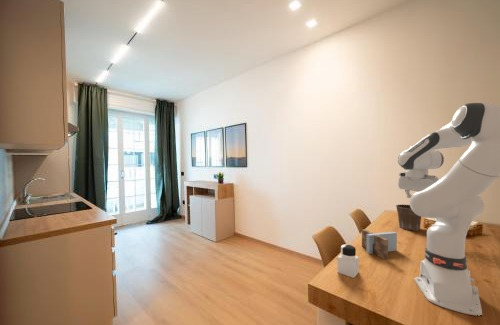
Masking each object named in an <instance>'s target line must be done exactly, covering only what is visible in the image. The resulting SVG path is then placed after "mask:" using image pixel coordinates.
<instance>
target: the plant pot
mask: <svg viewBox="0 0 500 325" xmlns="http://www.w3.org/2000/svg"><path fill="white" fill-rule="evenodd" d="M395 207H396V211H397V216H398V217H397V218H398V219H397V220H398V227H399V228H400V229H402V228H403V230H407V231H410V230H411V231H415V232H416V231H420V230H421V223H422V222H421V221H422V217H421V216H418V215H416V214H415V213H414V212H413V211H412V209H411V207H410V204H396V205H395Z"/></svg>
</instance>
